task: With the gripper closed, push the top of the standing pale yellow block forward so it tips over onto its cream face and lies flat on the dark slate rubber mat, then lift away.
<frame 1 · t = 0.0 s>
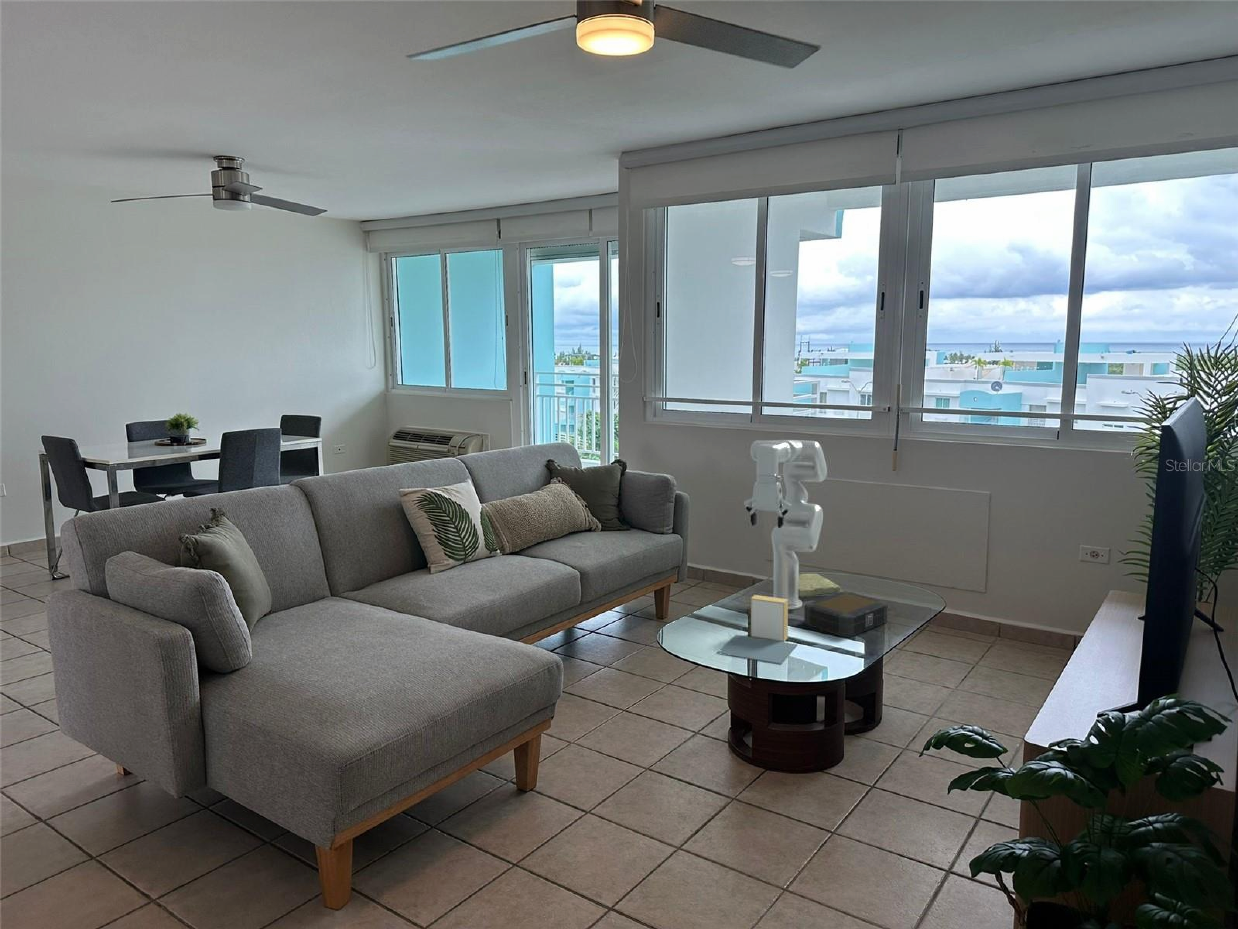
hand: (767, 526, 297), 37 cm above the table, tool pointing down, fingers open, 9 cm apart
pale yellow block: (769, 637, 290), on the table
decorative tile: (808, 589, 345), on the table
mat: (757, 649, 280), on the table
cash box: (846, 624, 303), on the table
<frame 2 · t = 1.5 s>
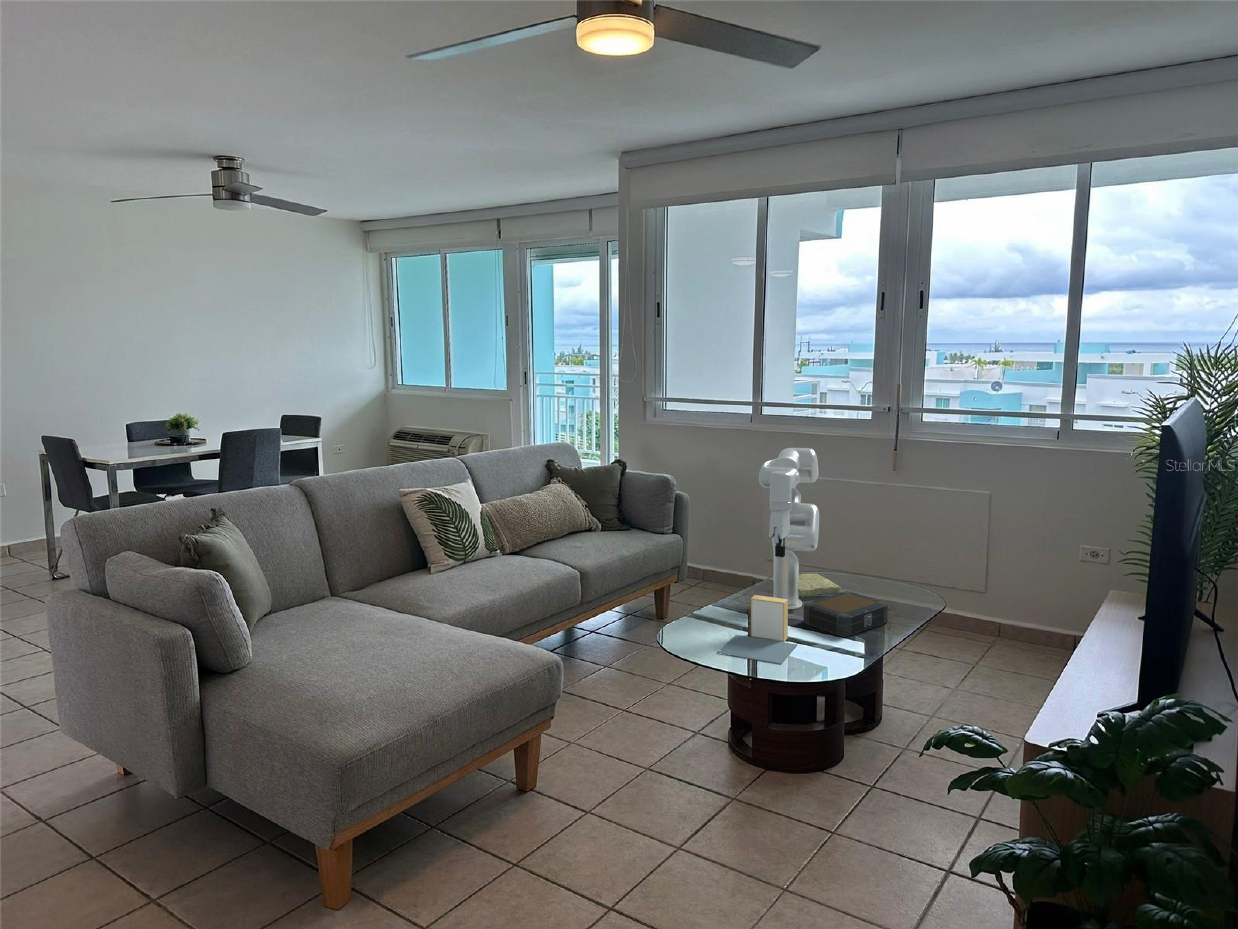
hand: (780, 556, 296), 26 cm above the table, tool pointing down, fingers closed
nothing on the table moved.
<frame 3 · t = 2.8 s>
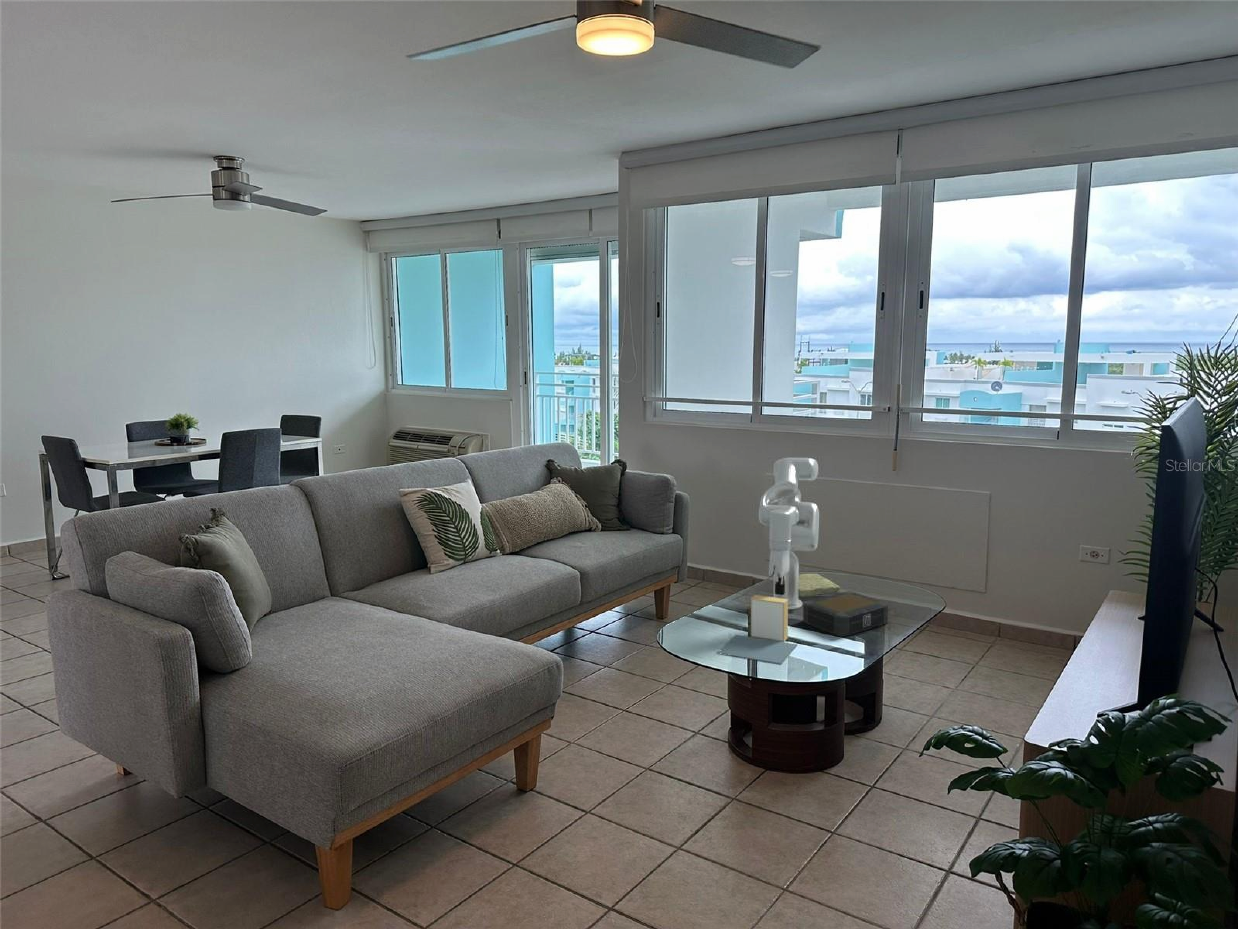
hand: (779, 593, 299), 12 cm above the table, tool pointing down, fingers closed
nothing on the table moved.
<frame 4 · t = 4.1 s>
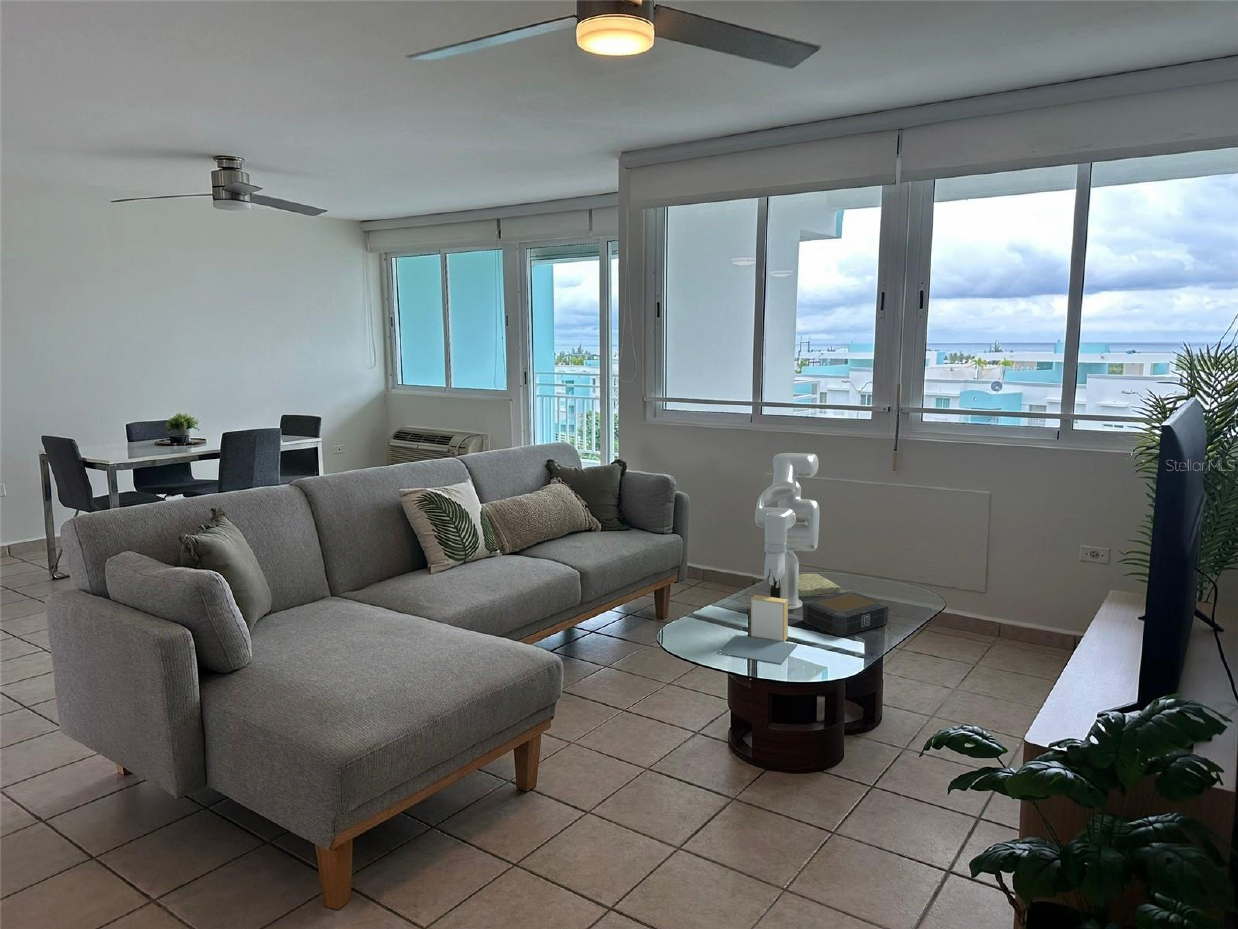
hand: (775, 597, 294), 12 cm above the table, tool pointing down, fingers closed
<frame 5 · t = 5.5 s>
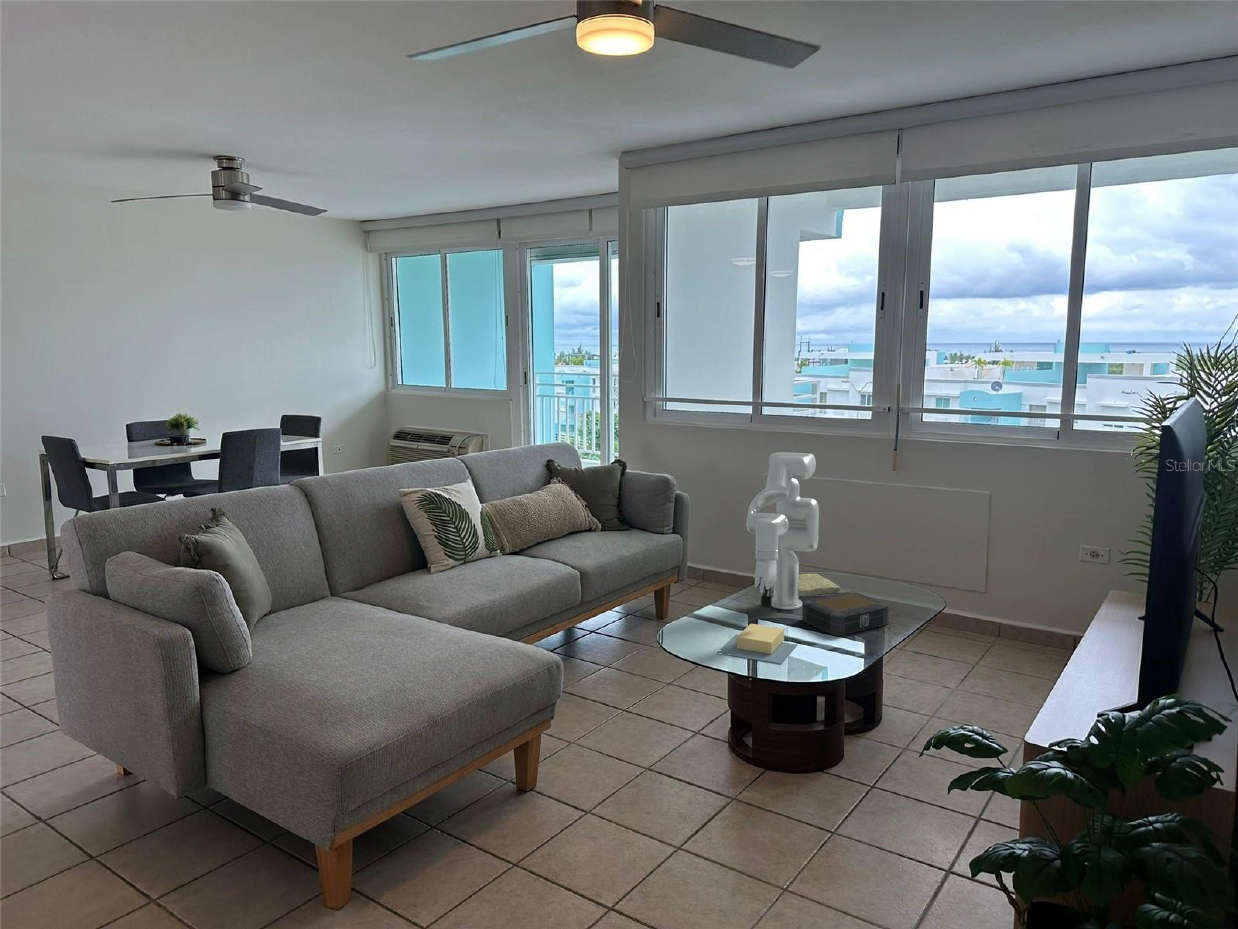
hand: (766, 606, 286), 12 cm above the table, tool pointing down, fingers closed
pale yellow block: (767, 631, 288), point 3 cm above the table, tilted 90°, touching mat
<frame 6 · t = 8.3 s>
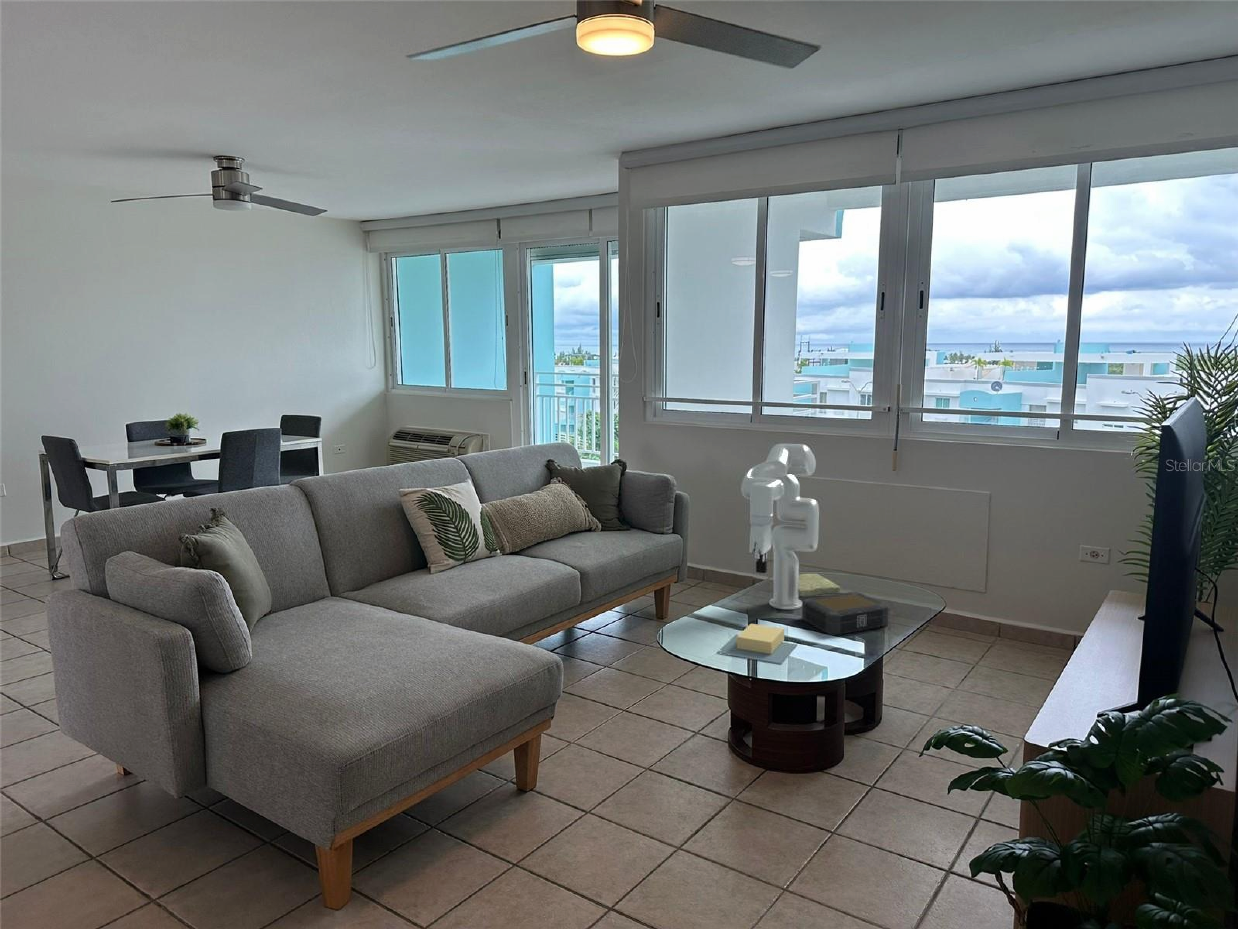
hand: (761, 572, 281), 25 cm above the table, tool pointing down, fingers closed
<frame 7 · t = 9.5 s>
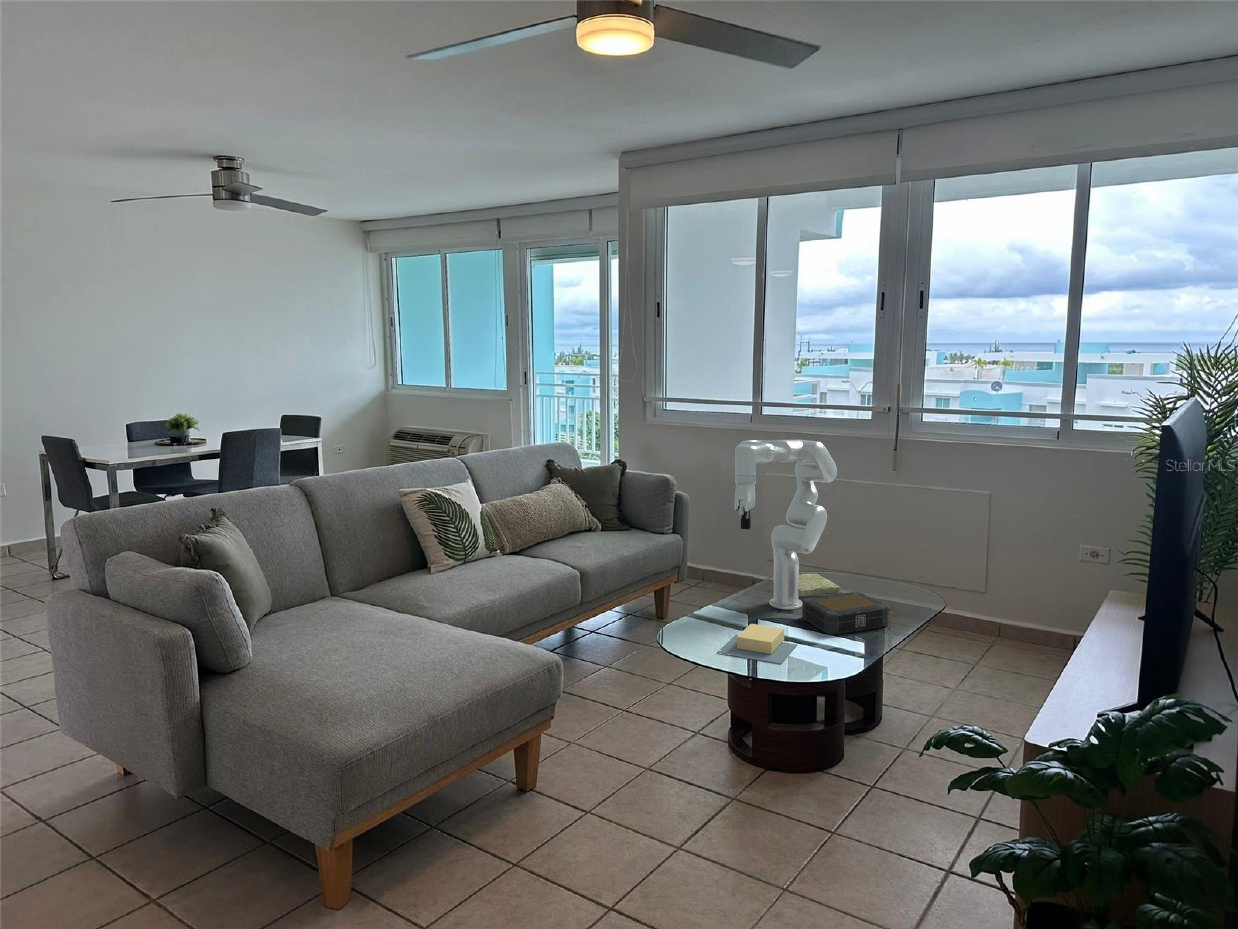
hand: (745, 528, 301), 35 cm above the table, tool pointing down, fingers closed
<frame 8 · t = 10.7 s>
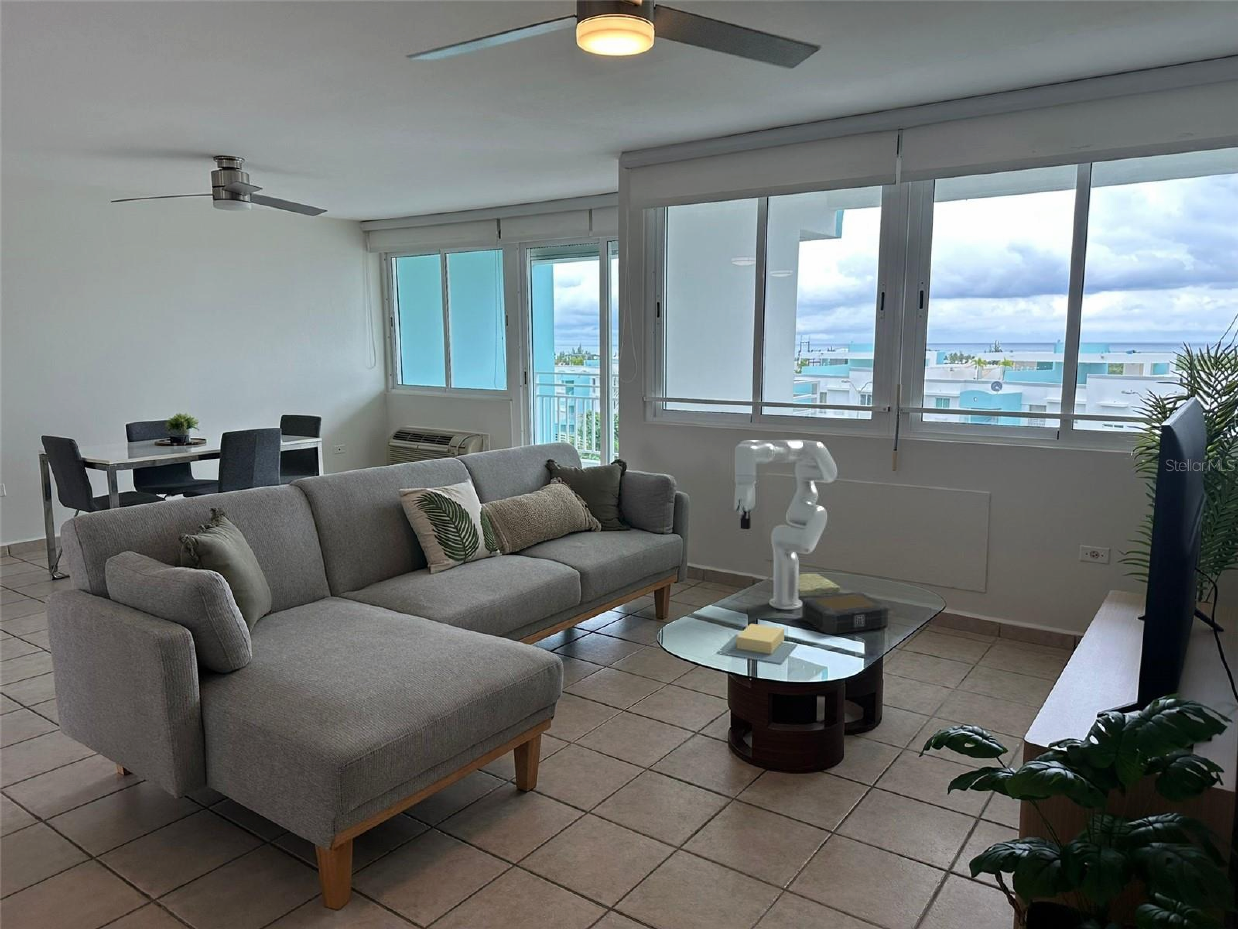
hand: (745, 528, 301), 35 cm above the table, tool pointing down, fingers closed
at the end: pale yellow block tilted 90°; pale yellow block touching mat; pale yellow block inside the target area (1.5 cm from its centre), point 2.7 cm above the table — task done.
